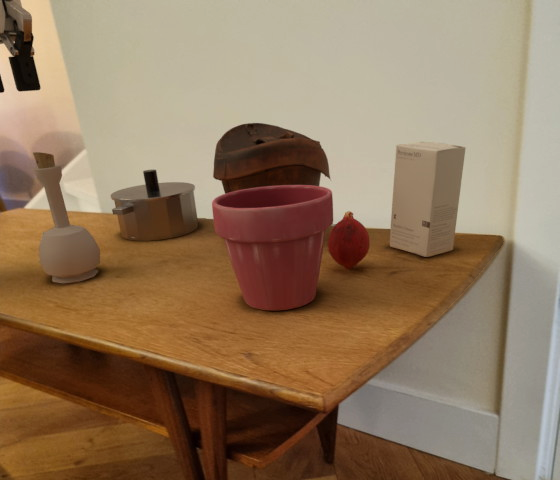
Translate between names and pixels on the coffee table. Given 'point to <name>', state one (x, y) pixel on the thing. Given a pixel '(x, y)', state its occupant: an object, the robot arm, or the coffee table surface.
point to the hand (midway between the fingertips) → (10, 91)
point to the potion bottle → (63, 232)
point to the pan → (157, 218)
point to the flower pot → (275, 241)
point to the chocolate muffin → (267, 158)
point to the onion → (348, 241)
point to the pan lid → (152, 190)
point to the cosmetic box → (426, 197)
